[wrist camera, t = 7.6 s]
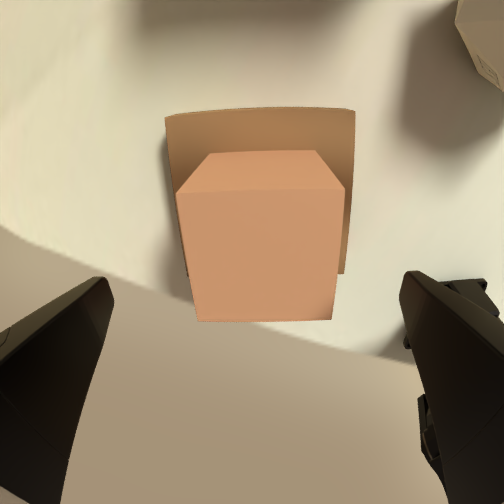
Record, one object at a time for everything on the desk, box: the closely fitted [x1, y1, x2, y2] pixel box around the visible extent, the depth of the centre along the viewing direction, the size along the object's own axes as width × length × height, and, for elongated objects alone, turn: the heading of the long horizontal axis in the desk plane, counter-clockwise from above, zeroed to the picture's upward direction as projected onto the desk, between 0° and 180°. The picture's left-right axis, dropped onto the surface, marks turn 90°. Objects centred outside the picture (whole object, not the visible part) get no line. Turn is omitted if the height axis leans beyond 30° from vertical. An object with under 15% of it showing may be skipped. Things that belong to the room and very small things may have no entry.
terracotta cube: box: [176, 150, 345, 322], centre depth 13 cm, size 5×5×6 cm
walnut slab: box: [165, 107, 355, 277], centre depth 16 cm, size 9×9×2 cm
